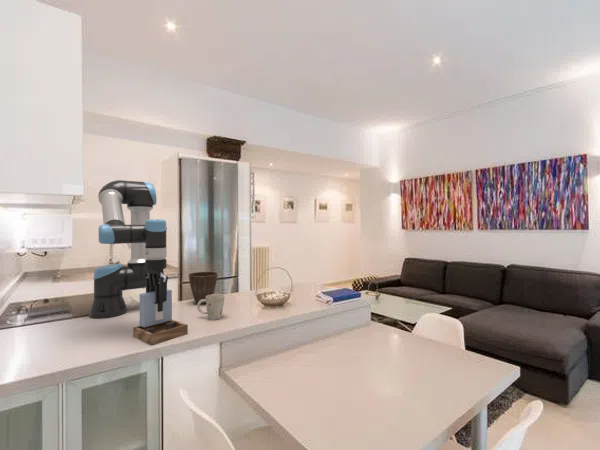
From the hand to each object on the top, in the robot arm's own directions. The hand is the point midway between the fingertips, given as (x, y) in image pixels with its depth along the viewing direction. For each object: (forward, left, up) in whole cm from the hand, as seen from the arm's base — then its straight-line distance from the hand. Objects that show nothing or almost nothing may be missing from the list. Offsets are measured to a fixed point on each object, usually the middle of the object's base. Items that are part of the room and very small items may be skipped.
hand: (156, 318), depth 117 cm
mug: (0, +25, -6) cm, 26 cm away
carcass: (+3, 0, -6) cm, 7 cm away
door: (0, 0, -2) cm, 2 cm away
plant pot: (-25, +39, -6) cm, 46 cm away
